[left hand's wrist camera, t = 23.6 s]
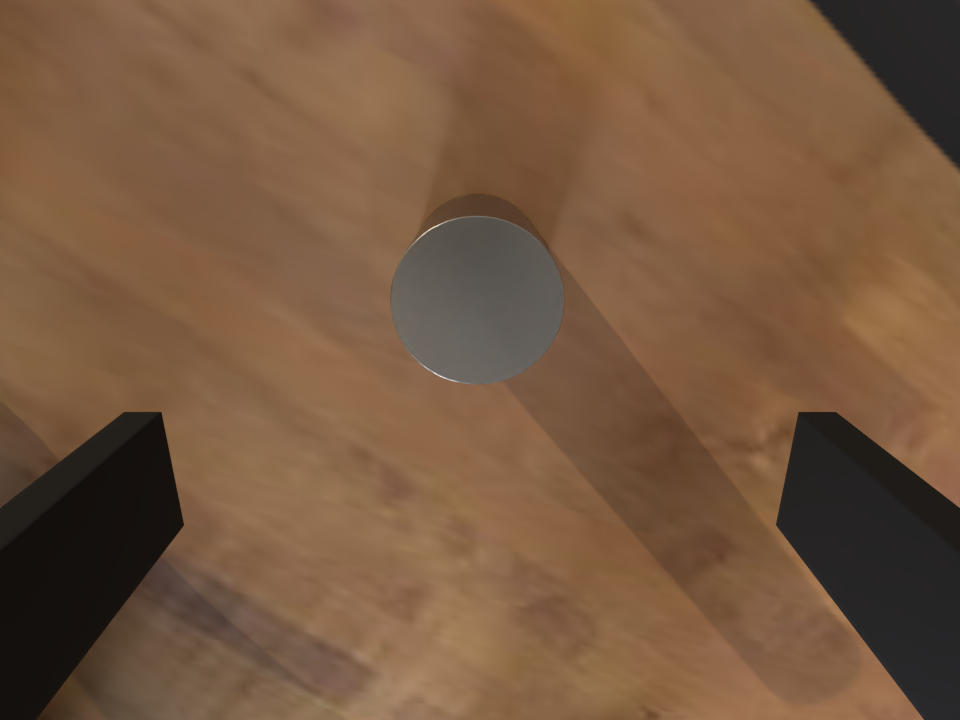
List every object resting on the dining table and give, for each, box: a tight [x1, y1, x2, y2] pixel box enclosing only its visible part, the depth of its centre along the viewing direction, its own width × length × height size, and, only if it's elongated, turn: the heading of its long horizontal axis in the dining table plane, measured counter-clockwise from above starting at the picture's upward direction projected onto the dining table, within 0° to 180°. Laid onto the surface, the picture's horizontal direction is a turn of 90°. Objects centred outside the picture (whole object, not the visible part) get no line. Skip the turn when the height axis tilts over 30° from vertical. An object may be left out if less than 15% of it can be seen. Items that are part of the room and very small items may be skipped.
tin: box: [390, 194, 564, 384], centre depth 31 cm, size 8×8×10 cm
